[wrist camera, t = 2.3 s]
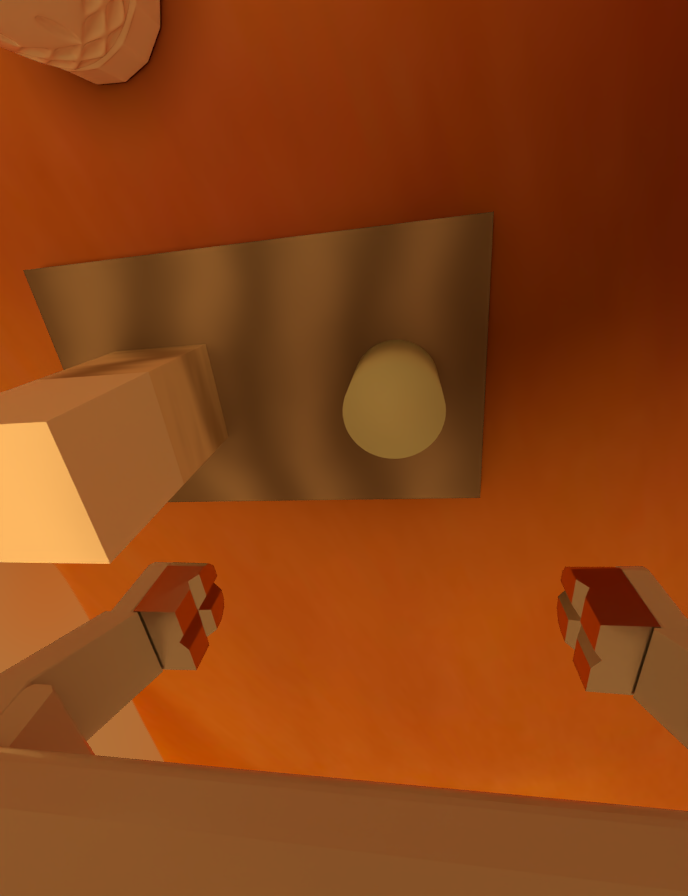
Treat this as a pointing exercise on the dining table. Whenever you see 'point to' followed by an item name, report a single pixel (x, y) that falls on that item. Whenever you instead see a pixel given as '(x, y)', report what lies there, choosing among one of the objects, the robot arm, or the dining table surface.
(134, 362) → the tower base block
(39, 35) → the white cup
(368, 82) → the dining table surface
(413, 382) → the green cylinder
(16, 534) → the tower top block
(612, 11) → the dining table surface
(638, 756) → the dining table surface
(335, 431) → the walnut board
